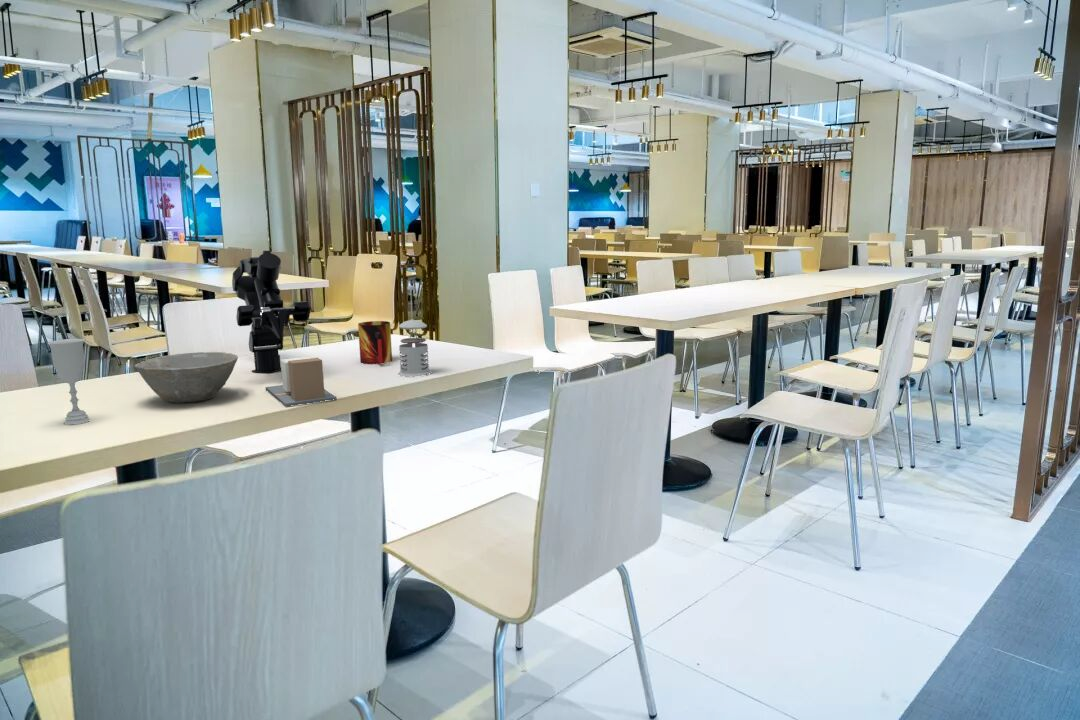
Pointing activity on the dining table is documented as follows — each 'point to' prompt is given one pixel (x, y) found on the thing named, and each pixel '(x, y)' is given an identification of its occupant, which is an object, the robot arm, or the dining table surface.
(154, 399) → the dining table surface
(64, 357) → the chalice
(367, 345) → the mug
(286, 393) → the rod stand
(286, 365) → the sleeve
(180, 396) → the ceramic bowl
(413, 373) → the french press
